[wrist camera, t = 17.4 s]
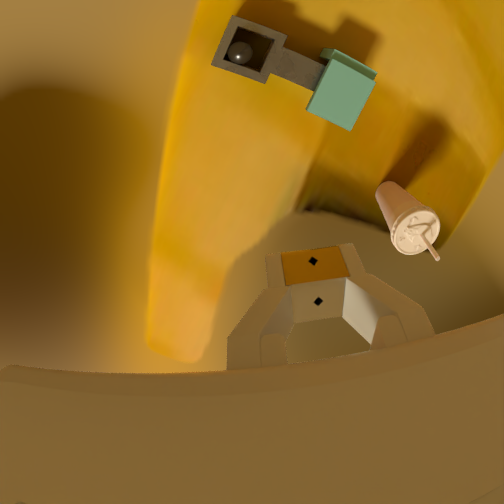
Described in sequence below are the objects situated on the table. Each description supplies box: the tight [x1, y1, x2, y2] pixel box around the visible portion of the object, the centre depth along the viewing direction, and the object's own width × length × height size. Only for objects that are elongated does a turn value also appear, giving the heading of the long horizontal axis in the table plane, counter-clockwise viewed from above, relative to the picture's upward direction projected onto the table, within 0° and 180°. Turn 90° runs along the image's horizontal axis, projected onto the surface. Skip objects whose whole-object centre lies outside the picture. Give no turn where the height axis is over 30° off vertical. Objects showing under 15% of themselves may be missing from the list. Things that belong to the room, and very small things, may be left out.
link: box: [211, 15, 326, 91], centre depth 27 cm, size 15×6×4 cm, turn 68°
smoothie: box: [376, 181, 440, 261], centre depth 34 cm, size 6×6×14 cm
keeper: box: [306, 48, 377, 131], centre depth 28 cm, size 5×7×5 cm
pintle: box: [228, 42, 253, 64], centre depth 26 cm, size 2×2×6 cm
